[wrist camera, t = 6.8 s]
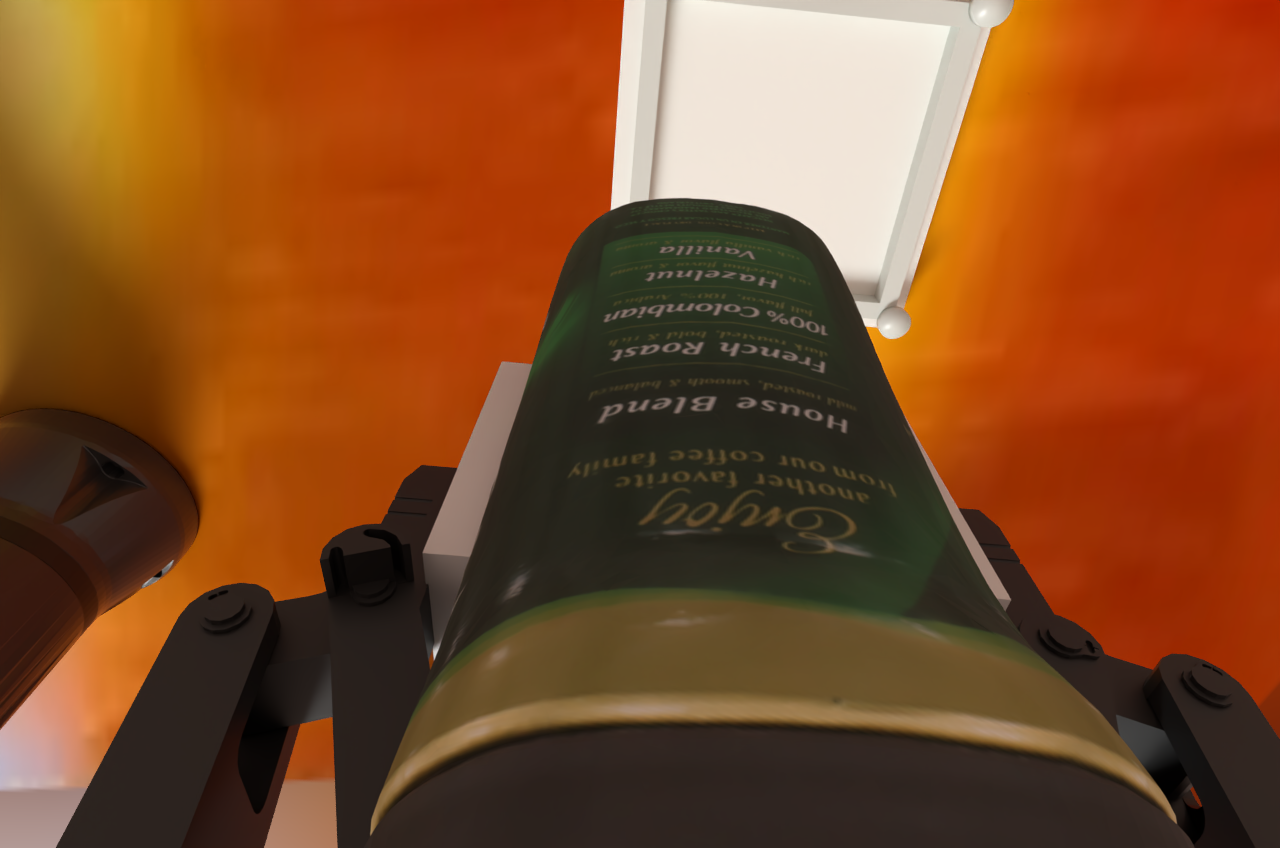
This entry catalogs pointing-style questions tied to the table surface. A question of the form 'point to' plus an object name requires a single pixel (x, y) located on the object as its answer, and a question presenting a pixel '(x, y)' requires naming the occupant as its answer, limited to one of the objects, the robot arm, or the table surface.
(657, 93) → the white square tray
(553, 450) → the coffee jar
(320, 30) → the table surface
